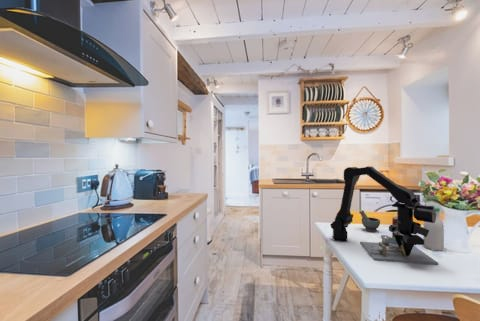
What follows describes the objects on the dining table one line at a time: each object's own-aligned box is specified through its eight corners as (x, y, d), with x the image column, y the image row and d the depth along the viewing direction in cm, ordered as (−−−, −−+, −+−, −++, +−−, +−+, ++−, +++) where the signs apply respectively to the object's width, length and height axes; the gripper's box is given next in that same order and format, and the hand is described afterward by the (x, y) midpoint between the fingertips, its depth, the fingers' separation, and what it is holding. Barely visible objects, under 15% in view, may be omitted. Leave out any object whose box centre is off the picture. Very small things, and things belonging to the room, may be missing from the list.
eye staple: (383, 258, 103) (383, 246, 103) (378, 254, 108) (378, 242, 108) (386, 259, 103) (386, 246, 103) (381, 254, 108) (381, 242, 108)
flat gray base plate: (374, 260, 102) (374, 258, 102) (360, 243, 121) (360, 241, 121) (438, 264, 97) (438, 262, 97) (412, 246, 117) (412, 244, 117)
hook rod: (372, 254, 104) (372, 244, 104) (368, 250, 109) (368, 241, 109) (410, 257, 102) (410, 247, 101) (405, 253, 106) (405, 243, 106)
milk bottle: (445, 252, 110) (445, 209, 109) (424, 249, 114) (424, 207, 113) (442, 246, 116) (442, 206, 116) (422, 243, 120) (422, 204, 120)
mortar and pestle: (378, 229, 145) (378, 209, 145) (382, 233, 136) (382, 213, 136) (357, 227, 149) (357, 208, 149) (360, 232, 140) (360, 211, 140)
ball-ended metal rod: (380, 244, 117) (380, 236, 117) (381, 241, 120) (381, 234, 120) (409, 249, 110) (409, 241, 110) (409, 247, 113) (409, 239, 113)
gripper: (439, 225, 93) (439, 264, 93) (414, 213, 111) (414, 246, 111) (407, 223, 95) (407, 262, 95) (388, 212, 113) (388, 245, 114)
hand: (404, 253), depth 104 cm, fingers closed on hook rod, 4 cm apart
